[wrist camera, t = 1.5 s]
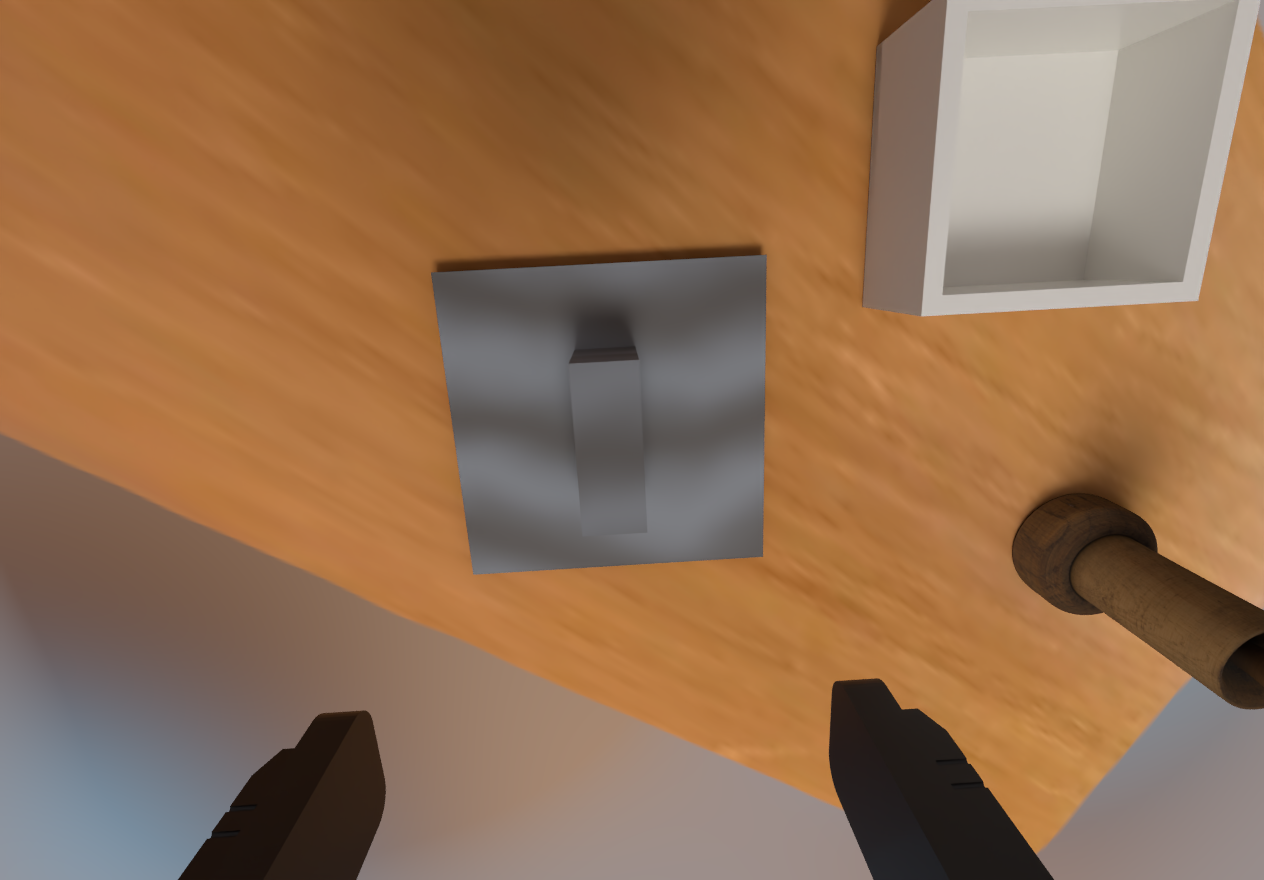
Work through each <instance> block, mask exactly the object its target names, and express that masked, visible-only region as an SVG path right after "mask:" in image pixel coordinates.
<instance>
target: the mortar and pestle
mask: <svg viewBox="0 0 1264 880" xmlns="http://www.w3.org/2000/svg"><path fill="white" fill-rule="evenodd" d="M1013 561H1014V565H1015V568H1016V571H1017V573H1018V574H1019V576H1020V578H1021V579H1022V580H1023V581H1024V582H1025V583H1026V584H1027V585H1028V586H1029V587H1030V588H1031V589H1032V590H1034V591H1035V592H1036V593H1038V594H1039V595H1041V596H1042V597H1043V598H1044V599H1045V600H1047V601H1048V602H1049V603H1051V604H1052V605H1053V606H1055V607H1057V608H1058V609H1060V610H1063V611H1065V612H1068V613H1072V614H1078V615H1093V614H1099V613H1103V612H1104V613H1105V614H1107V615H1108V616H1109V617H1111V618H1112V619H1114V620H1115V621H1116V622H1118V623H1119V624H1121V625H1122V626H1123V627H1125V628H1126V629H1127V630H1129V631H1130V632H1132V633H1133V634H1134V635H1136V636H1137V637H1139V638H1140V639H1141V640H1143V641H1144V642H1145V643H1147V644H1148V645H1150V646H1151V647H1152V648H1154V649H1155V650H1156V651H1158V652H1159V653H1161V654H1162V655H1163V656H1165V657H1166V658H1167V659H1169V660H1170V661H1172V662H1173V663H1174V664H1176V665H1177V666H1178V667H1180V668H1181V669H1183V670H1184V671H1185V672H1187V673H1188V674H1189V675H1191V676H1192V677H1194V678H1195V679H1196V680H1198V681H1199V682H1200V683H1202V684H1203V685H1204V686H1206V687H1207V688H1208V689H1210V690H1211V691H1213V692H1214V693H1216V694H1217V695H1218V696H1219V697H1221V698H1222V699H1224V700H1225V701H1226V702H1228V703H1230V704H1231V705H1233V706H1236V707H1238V708H1242V709H1262V708H1264V610H1262V609H1260V608H1258V607H1256V606H1254V605H1253V604H1251V603H1249V602H1247V601H1245V600H1243V599H1241V598H1239V597H1238V596H1236V595H1234V594H1232V593H1230V592H1228V591H1226V590H1224V589H1223V588H1221V587H1219V586H1217V585H1215V584H1213V583H1211V582H1210V581H1208V580H1206V579H1204V578H1202V577H1200V576H1198V575H1197V574H1195V573H1193V572H1191V571H1189V570H1187V569H1185V568H1184V567H1182V566H1180V565H1178V564H1176V563H1175V562H1173V561H1171V560H1169V559H1167V558H1165V557H1164V556H1162V555H1160V554H1158V553H1157V542H1156V538H1155V535H1154V533H1153V531H1152V529H1151V527H1150V526H1149V525H1148V524H1147V523H1146V521H1144V520H1143V519H1142V518H1141V517H1139V516H1138V515H1136V514H1135V513H1133V512H1131V511H1129V510H1127V509H1125V508H1123V507H1121V506H1119V505H1117V504H1115V503H1113V502H1111V501H1109V500H1106V499H1104V498H1102V497H1099V496H1095V495H1090V494H1071V495H1066V496H1062V497H1059V498H1056V499H1053V500H1051V501H1049V502H1047V503H1046V504H1044V505H1042V506H1041V507H1040V508H1038V509H1037V510H1036V511H1035V512H1033V513H1032V514H1031V515H1030V516H1029V517H1028V518H1027V519H1026V521H1025V522H1024V523H1023V525H1022V526H1021V528H1020V529H1019V531H1018V533H1017V535H1016V538H1015V541H1014V545H1013Z"/></svg>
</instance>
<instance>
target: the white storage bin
mask: <svg viewBox="0 0 1264 880" xmlns="http://www.w3.org/2000/svg"><path fill="white" fill-rule="evenodd" d="M1260 1H1261V0H932V1H931V2H929V3H928V4H927V5H926V6H925V7H923V8H922V9H921V10H920V11H919V12H917V13H916V14H915V15H914V16H913V17H911V18H910V19H909V20H908V21H907V22H905V23H904V24H903V25H902V26H901V27H899V28H898V29H897V30H896V31H895V32H893V33H892V34H891V35H890V36H889V37H887V38H886V39H885V40H884V41H883V42H882V43H880V44H879V45H878V46H877V52H876V71H875V89H874V107H873V125H872V144H871V162H870V180H869V198H868V217H867V235H866V253H865V271H864V289H863V307H866V308H872V309H878V310H885V311H891V312H897V313H904V314H910V315H916V316H935V315H953V314H971V313H988V312H1006V311H1024V310H1042V309H1059V308H1077V307H1095V306H1113V305H1131V304H1148V303H1166V302H1184V301H1198V298H1199V293H1200V288H1201V284H1202V279H1203V274H1204V269H1205V265H1206V260H1207V255H1208V250H1209V245H1210V241H1211V236H1212V231H1213V226H1214V221H1215V217H1216V212H1217V207H1218V202H1219V197H1220V193H1221V188H1222V183H1223V178H1224V173H1225V169H1226V164H1227V159H1228V154H1229V149H1230V145H1231V140H1232V135H1233V130H1234V125H1235V121H1236V116H1237V111H1238V106H1239V101H1240V97H1241V92H1242V87H1243V82H1244V77H1245V73H1246V68H1247V63H1248V58H1249V54H1250V49H1251V44H1252V39H1253V34H1254V30H1255V25H1256V20H1257V15H1258V10H1259V6H1260Z"/></svg>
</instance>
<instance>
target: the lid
mask: <svg viewBox="0 0 1264 880" xmlns="http://www.w3.org/2000/svg"><path fill="white" fill-rule="evenodd" d="M766 257H767V255H755V256H736V257H718V258H699V259H680V260H661V261H642V262H623V263H604V264H585V265H566V266H548V267H529V268H510V269H491V270H472V271H453V272H434V273H431V276H432V283H433V290H434V297H435V304H436V311H437V318H438V325H439V333H440V340H441V347H442V354H443V361H444V368H445V375H446V382H447V390H448V397H449V404H450V411H451V418H452V425H453V432H454V439H455V446H456V454H457V461H458V468H459V475H460V482H461V489H462V496H463V503H464V510H465V518H466V525H467V532H468V539H469V546H470V553H471V560H472V567H473V574H490V573H506V572H522V571H539V570H555V569H571V568H587V567H603V566H620V565H636V564H652V563H668V562H684V561H700V560H717V559H733V558H749V557H763V503H764V421H765V339H766Z"/></svg>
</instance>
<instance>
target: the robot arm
mask: <svg viewBox="0 0 1264 880" xmlns="http://www.w3.org/2000/svg"><path fill="white" fill-rule="evenodd" d="M829 761H830V769H831V774H832V779H833V783H834V786H835V789H836V792H837V795H838V797H839V800H840V802H841V804H842V807H843V809H844V811H845V814H846V816H847V819H848V821H849V823H850V826H851V828H852V830H853V832H854V835H855V837H856V839H857V842H858V844H859V847H860V849H861V851H862V853H863V856H864V858H865V861H866V863H867V865H868V868H869V870H870V872H871V875H872V877H873V879H874V880H1054V879H1053V878H1052V876H1051V875H1050V873H1049V872H1048V871H1047V869H1046V868H1045V866H1044V865H1043V864H1042V862H1041V861H1040V860H1039V858H1038V857H1037V855H1036V854H1035V853H1034V851H1033V850H1032V848H1031V847H1030V846H1029V844H1028V843H1027V841H1026V840H1025V839H1024V837H1023V836H1022V835H1021V833H1020V832H1019V830H1018V829H1017V828H1016V826H1015V825H1014V823H1013V822H1012V821H1011V819H1010V818H1009V817H1008V815H1007V814H1006V812H1005V811H1004V810H1003V808H1002V807H1001V805H1000V804H999V803H998V801H997V800H996V799H995V797H994V796H993V794H992V793H991V792H990V790H989V789H988V788H985V787H984V784H983V781H982V779H981V778H980V776H979V775H978V774H977V772H976V771H975V769H974V768H973V767H972V765H971V764H968V763H967V759H966V757H965V756H964V754H963V753H962V751H961V750H960V749H959V747H958V746H957V744H956V743H955V742H954V740H953V739H952V738H951V736H950V735H949V733H948V732H947V731H946V730H945V729H944V728H942V727H941V726H940V725H938V724H937V723H936V722H935V721H933V720H932V719H931V718H929V717H928V716H927V715H925V714H924V713H923V712H922V711H920V710H919V709H904V710H902V709H901V708H900V706H899V705H898V703H897V702H896V700H895V698H894V697H893V695H892V694H891V692H890V691H889V689H888V688H887V686H886V685H885V683H884V682H883V681H882V680H880V679H862V680H847V681H836V682H835V683H834V684H833V688H832V701H831V721H830V741H829ZM385 789H386V786H385V778H384V773H383V768H382V763H381V759H380V754H379V750H378V744H377V740H376V735H375V730H374V725H373V721H372V718H371V715H370V714H369V713H368V712H367V711H351V712H336V713H323V714H320V715H318V716H317V717H316V718H315V719H314V720H313V721H312V723H311V725H310V726H309V727H308V729H307V731H306V732H305V734H304V735H303V737H302V738H301V740H300V741H299V743H298V744H297V746H296V747H295V748H293V749H282V750H281V751H280V752H279V753H278V754H277V755H275V756H274V757H273V758H272V759H271V760H270V761H268V762H267V763H266V764H265V765H264V766H263V767H261V768H260V769H259V770H258V771H257V772H256V773H255V774H253V775H252V776H251V778H250V779H249V780H248V782H247V783H246V785H245V786H244V787H243V789H242V790H241V792H240V793H239V795H238V796H237V797H236V799H235V800H234V802H233V803H232V804H231V806H230V811H229V812H226V813H225V814H224V816H223V817H222V818H221V820H220V821H219V823H218V824H217V825H216V827H215V828H214V830H213V831H212V836H211V838H210V839H207V840H206V841H205V843H204V844H203V845H202V847H201V848H200V849H199V851H198V852H197V854H196V855H195V856H194V858H193V859H192V861H191V862H190V864H189V865H188V866H187V868H186V869H185V871H184V872H183V873H182V875H181V876H180V878H179V879H178V880H356V879H357V877H358V874H359V872H360V869H361V867H362V865H363V862H364V860H365V858H366V855H367V853H368V850H369V848H370V846H371V843H372V841H373V839H374V836H375V834H376V831H377V829H378V827H379V824H380V821H381V818H382V814H383V810H384V804H385V794H386V791H385Z"/></svg>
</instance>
